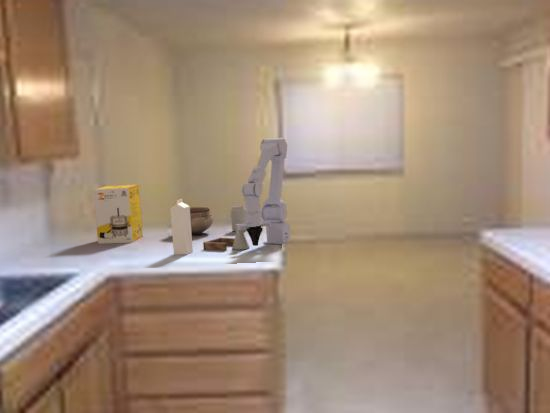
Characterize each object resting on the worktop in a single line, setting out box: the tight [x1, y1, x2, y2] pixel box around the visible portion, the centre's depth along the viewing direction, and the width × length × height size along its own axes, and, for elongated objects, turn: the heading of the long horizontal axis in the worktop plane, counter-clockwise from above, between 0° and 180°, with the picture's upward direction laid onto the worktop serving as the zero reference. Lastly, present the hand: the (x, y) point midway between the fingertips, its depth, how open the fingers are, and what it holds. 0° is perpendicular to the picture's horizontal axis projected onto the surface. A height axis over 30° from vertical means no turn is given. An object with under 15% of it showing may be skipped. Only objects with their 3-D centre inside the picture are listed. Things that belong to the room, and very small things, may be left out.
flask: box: [231, 224, 250, 251], centre depth 290 cm, size 7×7×10 cm
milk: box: [170, 198, 194, 256], centre depth 285 cm, size 6×6×22 cm
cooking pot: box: [190, 206, 214, 236], centre depth 336 cm, size 25×19×12 cm
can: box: [230, 205, 247, 233], centre depth 339 cm, size 8×8×12 cm
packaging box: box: [92, 184, 144, 245], centre depth 330 cm, size 16×16×25 cm
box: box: [202, 237, 235, 252], centre depth 295 cm, size 11×12×3 cm
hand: (255, 245), depth 286 cm, fingers closed
